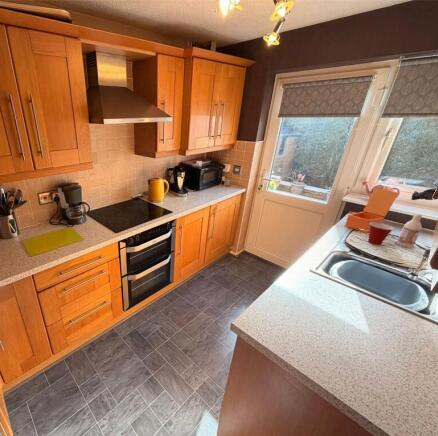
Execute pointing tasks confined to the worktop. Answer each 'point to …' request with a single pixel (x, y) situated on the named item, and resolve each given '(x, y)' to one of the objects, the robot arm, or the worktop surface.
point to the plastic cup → (378, 233)
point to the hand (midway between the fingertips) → (413, 197)
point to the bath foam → (410, 232)
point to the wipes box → (363, 220)
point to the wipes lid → (380, 202)
